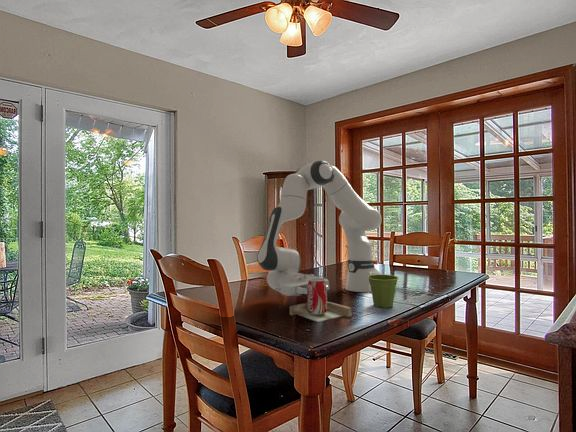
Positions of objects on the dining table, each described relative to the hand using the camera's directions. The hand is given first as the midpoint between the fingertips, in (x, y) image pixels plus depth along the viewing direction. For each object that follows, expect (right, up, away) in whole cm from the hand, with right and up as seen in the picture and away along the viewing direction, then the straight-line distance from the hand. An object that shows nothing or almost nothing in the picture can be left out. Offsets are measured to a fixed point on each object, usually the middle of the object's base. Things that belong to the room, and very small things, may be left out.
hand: (318, 289), depth 127 cm
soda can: (0, -9, -1) cm, 9 cm away
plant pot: (+26, -9, +11) cm, 30 cm away
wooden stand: (+1, -9, -1) cm, 9 cm away
